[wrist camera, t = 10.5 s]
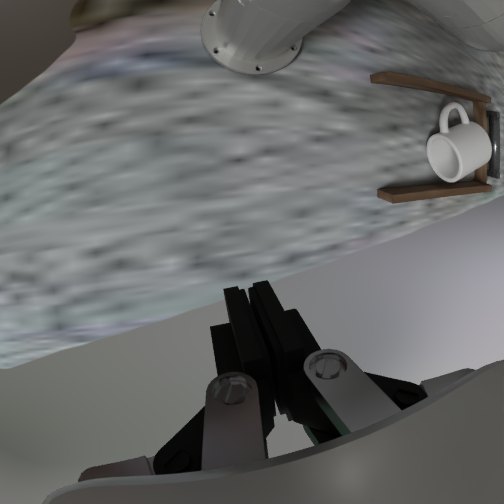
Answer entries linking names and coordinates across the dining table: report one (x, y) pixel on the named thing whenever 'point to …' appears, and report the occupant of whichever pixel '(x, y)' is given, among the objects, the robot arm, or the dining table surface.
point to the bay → (479, 117)
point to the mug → (458, 146)
